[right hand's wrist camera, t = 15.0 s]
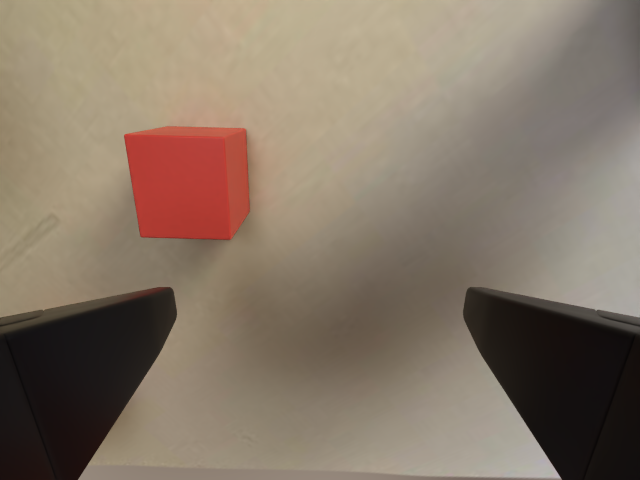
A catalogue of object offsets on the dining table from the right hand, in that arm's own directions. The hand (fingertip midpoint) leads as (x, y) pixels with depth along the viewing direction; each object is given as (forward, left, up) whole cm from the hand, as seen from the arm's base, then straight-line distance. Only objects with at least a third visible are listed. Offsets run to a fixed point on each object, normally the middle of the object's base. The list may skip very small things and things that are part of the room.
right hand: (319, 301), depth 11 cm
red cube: (-5, -5, -12) cm, 14 cm away
